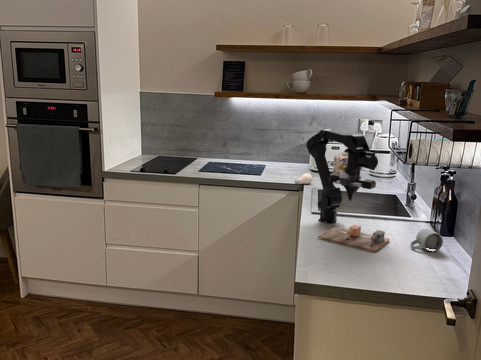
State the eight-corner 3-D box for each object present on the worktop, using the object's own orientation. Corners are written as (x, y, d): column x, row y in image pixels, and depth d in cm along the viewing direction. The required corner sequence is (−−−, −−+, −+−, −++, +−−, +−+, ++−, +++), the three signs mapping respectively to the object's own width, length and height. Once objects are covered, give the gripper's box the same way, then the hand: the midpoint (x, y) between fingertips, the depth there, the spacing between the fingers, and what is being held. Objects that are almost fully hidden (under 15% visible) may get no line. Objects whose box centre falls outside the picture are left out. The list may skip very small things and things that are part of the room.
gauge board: (317, 238, 194) (318, 227, 193) (334, 228, 207) (335, 218, 206) (375, 252, 181) (376, 241, 180) (389, 241, 194) (390, 230, 193)
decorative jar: (354, 183, 291) (357, 154, 286) (335, 183, 291) (337, 153, 287) (350, 179, 302) (352, 151, 298) (331, 178, 302) (334, 150, 298)
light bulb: (295, 177, 280) (312, 171, 283) (291, 177, 287) (308, 171, 289) (298, 188, 281) (315, 182, 284) (294, 187, 288) (311, 182, 290)
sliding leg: (343, 237, 192) (344, 230, 191) (353, 231, 200) (354, 224, 199) (350, 239, 190) (351, 232, 189) (360, 233, 198) (360, 226, 197)
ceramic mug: (431, 244, 192) (433, 226, 190) (442, 252, 184) (444, 233, 182) (406, 245, 190) (407, 227, 189) (416, 253, 183) (418, 234, 181)
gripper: (324, 163, 199) (321, 199, 203) (366, 171, 188) (362, 209, 192) (337, 160, 208) (334, 194, 212) (378, 167, 197) (374, 203, 201)
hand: (350, 200), depth 204 cm, fingers closed
